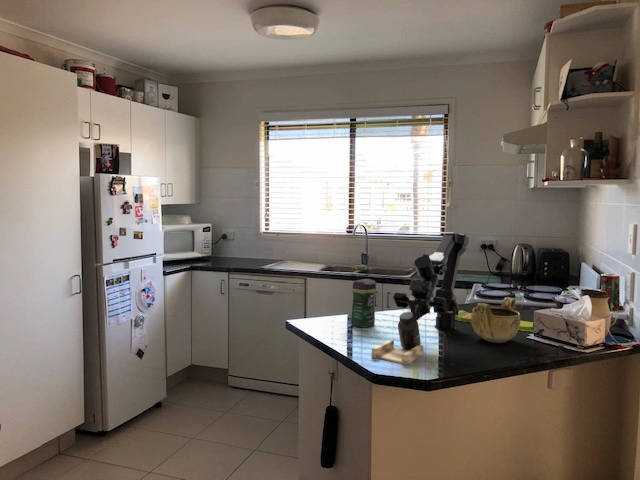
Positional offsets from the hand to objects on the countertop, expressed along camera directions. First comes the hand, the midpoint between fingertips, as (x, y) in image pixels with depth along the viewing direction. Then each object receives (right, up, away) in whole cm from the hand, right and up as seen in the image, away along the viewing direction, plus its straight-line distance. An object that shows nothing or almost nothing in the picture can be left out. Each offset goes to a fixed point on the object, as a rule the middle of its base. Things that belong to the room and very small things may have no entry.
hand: (412, 321), depth 177 cm
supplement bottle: (0, -8, +1) cm, 8 cm away
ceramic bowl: (+32, -9, +13) cm, 36 cm away
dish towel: (+42, -7, +40) cm, 58 cm away
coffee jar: (-14, -6, +31) cm, 35 cm away
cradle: (-6, -10, -8) cm, 14 cm away
